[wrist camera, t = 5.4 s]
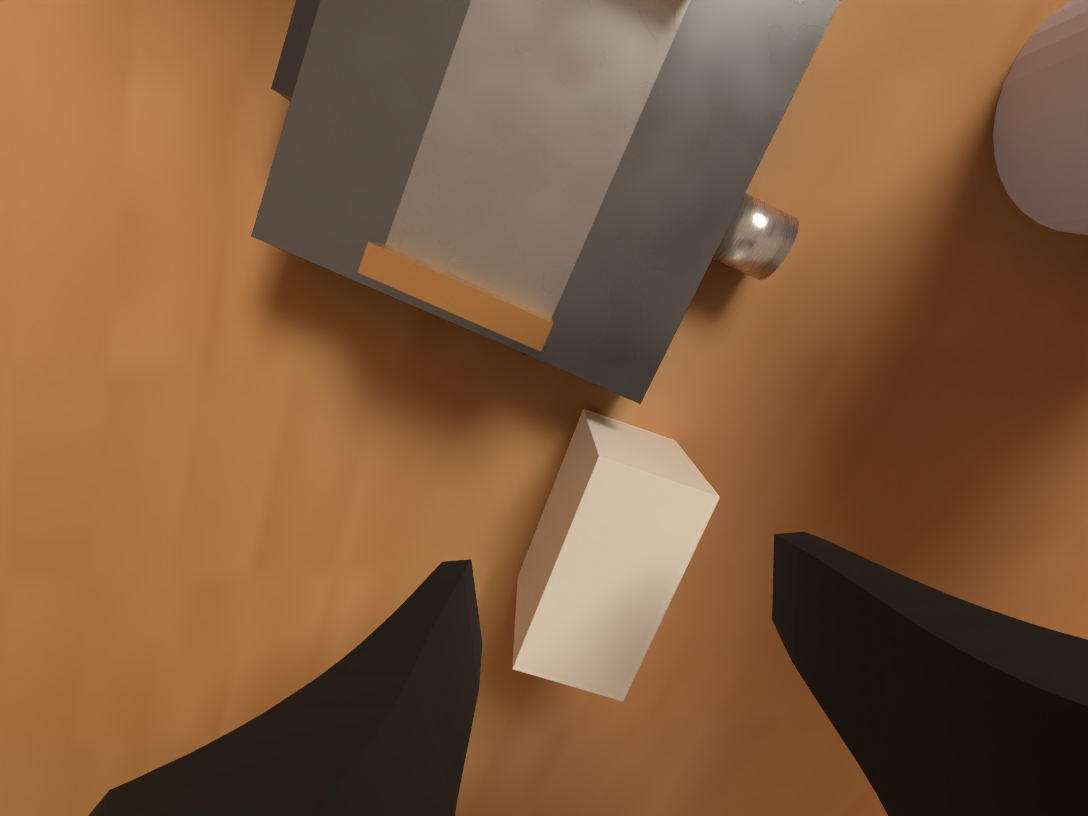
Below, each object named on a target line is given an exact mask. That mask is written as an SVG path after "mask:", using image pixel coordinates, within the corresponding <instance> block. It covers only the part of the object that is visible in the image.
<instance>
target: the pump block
mask: <svg viewBox="0 0 1088 816" xmlns="http://www.w3.org/2000/svg"><path fill="white" fill-rule="evenodd" d="M719 498H720V496H719V495H718V494H717V493H716V491H715V490H714V489H713V488H712V486H711V485H710V484H709V482H708V481H707V480H706V479H705V477H704V476H703V475H702V474H701V472H700V471H699V470H698V469H697V467H696V466H695V465H694V464H693V462H692V461H691V460H690V459H689V457H688V456H687V455H686V453H685V452H684V451H683V450H682V448H681V447H680V446H679V445H678V443H677V442H676V441H675V440H672V439H670V438H667V437H664V436H661V435H658V434H655V433H652V432H649V431H647V430H644V429H641V428H638V427H635V426H632V425H629V424H626V423H623V422H621V421H618V420H615V419H612V418H609V417H606V416H603V415H600V414H598V413H595V412H592V411H589V410H586V409H583V411H582V413H581V416H580V418H579V421H578V423H577V426H576V428H575V431H574V434H573V436H572V439H571V441H570V444H569V446H568V449H567V452H566V454H565V457H564V459H563V462H562V464H561V467H560V470H559V472H558V475H557V477H556V480H555V482H554V485H553V488H552V490H551V493H550V495H549V498H548V500H547V503H546V505H545V508H544V511H543V513H542V516H541V518H540V521H539V523H538V526H537V529H536V531H535V534H534V536H533V539H532V541H531V544H530V547H529V549H528V552H527V554H526V557H525V559H524V562H523V564H522V567H521V570H520V572H519V575H518V579H517V597H516V615H515V632H514V650H513V668H512V669H513V670H517V671H520V672H524V673H527V674H531V675H534V676H537V677H541V678H544V679H548V680H551V681H555V682H558V683H561V684H565V685H568V686H572V687H575V688H578V689H582V690H585V691H589V692H592V693H596V694H599V695H602V696H606V697H609V698H613V699H616V700H620V701H624V699H625V697H626V695H627V693H628V690H629V688H630V686H631V684H632V682H633V680H634V678H635V676H636V674H637V671H638V669H639V667H640V665H641V663H642V661H643V659H644V657H645V655H646V652H647V650H648V648H649V646H650V644H651V642H652V640H653V638H654V635H655V633H656V631H657V629H658V627H659V625H660V623H661V621H662V619H663V616H664V614H665V612H666V610H667V608H668V606H669V604H670V602H671V600H672V597H673V595H674V593H675V591H676V589H677V587H678V585H679V583H680V581H681V578H682V576H683V574H684V572H685V570H686V568H687V566H688V564H689V562H690V559H691V557H692V555H693V553H694V551H695V549H696V547H697V545H698V542H699V540H700V538H701V536H702V534H703V532H704V530H705V528H706V526H707V523H708V521H709V519H710V517H711V515H712V513H713V511H714V509H715V507H716V504H717V502H718V500H719Z"/></svg>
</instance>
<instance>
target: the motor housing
mask: <svg viewBox="0 0 1088 816" xmlns="http://www.w3.org/2000/svg"><path fill="white" fill-rule="evenodd" d="M839 2H840V0H296V4H295V7H294V11H293V14H292V18H291V21H290V25H289V28H288V32H287V35H286V39H285V42H284V46H283V49H282V53H281V56H280V60H279V63H278V67H277V70H276V74H275V77H274V81H273V84H272V88H271V89H273V90H274V91H276V92H277V93H279V94H280V95H282V96H283V97H285V98H286V99H288V100H289V101H291V102H290V106H289V109H288V113H287V116H286V119H285V123H284V126H283V130H282V133H281V136H280V140H279V143H278V147H277V150H276V153H275V157H274V160H273V164H272V167H271V170H270V174H269V177H268V181H267V184H266V188H265V191H264V194H263V198H262V201H261V205H260V208H259V211H258V215H257V218H256V222H255V225H254V228H253V232H252V235H251V236H252V237H254V238H257V239H259V240H261V241H264V242H266V243H268V244H270V245H273V246H275V247H277V248H280V249H282V250H284V251H287V252H289V253H291V254H294V255H296V256H298V257H301V258H303V259H305V260H308V261H310V262H312V263H315V264H317V265H319V266H322V267H324V268H326V269H329V270H331V271H333V272H335V273H338V274H340V275H342V276H345V277H347V278H349V279H352V280H354V281H356V282H359V283H361V284H363V285H366V286H368V287H370V288H373V289H375V290H377V291H380V292H382V293H384V294H387V295H389V296H391V297H394V298H396V299H398V300H400V301H403V302H405V303H407V304H410V305H412V306H414V307H417V308H419V309H421V310H424V311H426V312H428V313H431V314H433V315H435V316H438V317H440V318H442V319H445V320H447V321H449V322H452V323H454V324H456V325H459V326H461V327H463V328H465V329H468V330H470V331H472V332H475V333H477V334H479V335H482V336H484V337H486V338H489V339H491V340H493V341H496V342H498V343H500V344H503V345H505V346H507V347H510V348H512V349H514V350H517V351H519V352H521V353H523V354H526V355H528V356H530V357H533V358H535V359H537V360H540V361H542V362H544V363H547V364H549V365H551V366H554V367H556V368H558V369H561V370H563V371H565V372H568V373H570V374H572V375H575V376H577V377H579V378H582V379H584V380H586V381H588V382H591V383H593V384H595V385H598V386H600V387H602V388H605V389H607V390H609V391H612V392H614V393H616V394H619V395H621V396H623V397H626V398H628V399H630V400H633V401H635V402H637V403H640V404H641V402H642V400H643V398H644V395H645V393H646V391H647V389H648V387H649V385H650V383H651V381H652V379H653V377H654V375H655V373H656V371H657V369H658V367H659V365H660V363H661V361H662V359H663V357H664V355H665V353H666V351H667V349H668V347H669V345H670V343H671V341H672V339H673V337H674V335H675V333H676V331H677V329H678V327H679V325H680V323H681V321H682V319H683V317H684V315H685V313H686V311H687V309H688V307H689V305H690V303H691V301H692V299H693V297H694V295H695V293H696V291H697V289H698V287H699V285H700V282H701V280H702V278H703V276H704V274H705V272H706V270H707V268H708V266H709V264H710V262H711V260H712V258H713V259H715V260H717V261H720V262H722V263H724V264H726V265H728V266H730V267H732V268H734V269H737V270H739V271H741V272H743V273H745V274H747V275H749V276H751V277H753V278H756V279H758V280H763V279H766V278H767V277H769V276H770V275H771V274H772V273H773V272H774V271H775V270H776V269H777V268H778V267H779V266H780V264H781V263H782V262H783V260H784V259H785V257H786V256H787V254H788V252H789V251H790V249H791V247H792V245H793V243H794V240H795V238H796V235H797V232H798V226H799V222H798V219H797V218H795V217H793V216H791V215H789V214H787V213H785V212H783V211H781V210H779V209H777V208H775V207H773V206H771V205H769V204H767V203H765V202H763V201H761V200H759V199H757V198H755V197H753V196H751V195H749V194H747V193H745V192H746V190H747V188H748V186H749V184H750V182H751V180H752V178H753V176H754V174H755V172H756V169H757V167H758V165H759V163H760V161H761V159H762V157H763V155H764V153H765V151H766V149H767V147H768V145H769V143H770V141H771V139H772V137H773V135H774V133H775V131H776V129H777V127H778V125H779V123H780V121H781V119H782V117H783V115H784V113H785V111H786V109H787V107H788V105H789V103H790V101H791V99H792V97H793V95H794V93H795V91H796V89H797V87H798V85H799V83H800V81H801V79H802V77H803V75H804V73H805V71H806V69H807V67H808V65H809V63H810V61H811V59H812V57H813V54H814V52H815V50H816V48H817V46H818V44H819V42H820V40H821V38H822V36H823V34H824V32H825V30H826V28H827V26H828V24H829V22H830V20H831V18H832V16H833V14H834V12H835V10H836V8H837V6H838V4H839Z"/></svg>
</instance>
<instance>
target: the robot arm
mask: <svg viewBox="0 0 1088 816" xmlns="http://www.w3.org/2000/svg"><path fill="white" fill-rule="evenodd" d="M993 143H994V157H995V161H996V165H997V169H998V173H999V177H1000V179H1001V181H1002V183H1003V185H1004V187H1005V189H1006V191H1007V193H1008V195H1009V197H1010V198H1011V199H1012V200H1013V201H1014V203H1015V204H1016V205H1017V206H1018V207H1019V209H1020V210H1021V211H1022V212H1023V213H1025V214H1026V215H1027V216H1029V217H1030V218H1031V219H1033V220H1034V221H1036V222H1037V223H1039V224H1041V225H1044V226H1046V227H1049V228H1051V229H1053V230H1056V231H1062V232H1068V233H1074V234H1083V235H1088V0H1070V1H1069V2H1068V3H1066V4H1065V5H1064V6H1062V7H1061V8H1060V9H1059V10H1057V11H1056V12H1055V13H1053V14H1052V15H1051V16H1049V18H1048V19H1047V20H1046V21H1045V22H1044V23H1043V24H1042V25H1041V26H1040V27H1039V28H1038V29H1037V30H1036V31H1035V33H1034V34H1033V35H1032V36H1031V37H1030V38H1029V40H1028V41H1027V43H1026V44H1025V46H1024V47H1023V49H1022V50H1021V52H1020V53H1019V54H1018V56H1017V57H1016V59H1015V61H1014V63H1013V65H1012V67H1011V69H1010V71H1009V73H1008V75H1007V77H1006V79H1005V82H1004V84H1003V87H1002V90H1001V94H1000V97H999V100H998V104H997V107H996V113H995V121H994V129H993ZM772 620H773V622H774V624H775V626H776V629H777V631H778V633H779V635H780V637H781V639H782V642H783V644H784V646H785V648H786V650H787V652H788V654H789V656H790V658H791V660H792V662H793V664H794V665H795V667H796V669H797V670H798V672H799V673H800V675H801V676H802V678H803V680H804V681H805V683H806V684H807V686H808V687H809V689H810V690H811V692H812V694H813V695H814V697H815V698H816V700H817V701H818V703H819V704H820V706H821V707H822V709H823V710H824V712H825V714H826V715H827V717H828V718H829V720H830V721H831V723H832V724H833V726H834V727H835V729H836V730H837V732H838V733H839V735H840V736H841V738H842V739H843V741H844V742H845V744H846V746H847V747H848V749H849V750H850V752H851V753H852V755H853V756H854V758H855V759H856V761H857V762H858V764H859V765H860V767H861V769H862V770H863V772H864V774H865V775H866V777H867V779H868V780H869V782H870V784H871V785H872V787H873V789H874V790H875V792H876V794H877V796H878V797H879V799H880V801H881V803H882V805H883V807H884V809H885V811H886V813H887V814H888V816H1088V640H1086V639H1083V638H1079V637H1075V636H1072V635H1068V634H1064V633H1061V632H1057V631H1054V630H1050V629H1047V628H1044V627H1040V626H1037V625H1034V624H1030V623H1027V622H1024V621H1021V620H1018V619H1015V618H1012V617H1009V616H1006V615H1003V614H1000V613H998V612H995V611H992V610H989V609H986V608H983V607H980V606H977V605H974V604H972V603H969V602H966V601H964V600H961V599H958V598H956V597H953V596H951V595H949V594H946V593H944V592H941V591H939V590H936V589H934V588H931V587H929V586H926V585H924V584H921V583H919V582H917V581H914V580H912V579H910V578H908V577H905V576H903V575H901V574H898V573H896V572H894V571H892V570H889V569H887V568H885V567H883V566H881V565H878V564H876V563H874V562H872V561H870V560H868V559H865V558H863V557H861V556H859V555H857V554H855V553H853V552H850V551H848V550H846V549H844V548H842V547H840V546H837V545H835V544H833V543H831V542H828V541H826V540H824V539H821V538H819V537H817V536H814V535H811V534H808V533H805V532H796V533H784V534H774V567H773V609H772ZM481 653H482V638H481V631H480V623H479V615H478V608H477V600H476V593H475V585H474V578H473V570H472V563H471V560H459V561H447V562H442V563H441V564H440V565H439V566H438V567H437V568H436V569H435V570H434V571H433V572H432V573H431V574H430V575H429V577H428V578H427V579H426V580H425V581H424V582H423V583H422V584H421V585H420V586H419V587H418V588H417V589H416V590H415V592H414V593H413V594H412V595H411V596H410V597H409V598H408V599H407V600H406V601H405V602H404V603H403V604H402V605H401V606H400V607H399V608H398V609H397V610H396V611H395V612H394V613H393V614H392V615H391V616H390V617H389V618H388V619H387V620H386V621H385V622H383V623H382V624H381V625H380V626H379V627H378V628H377V629H376V630H375V631H374V632H373V633H372V634H371V635H369V636H368V637H367V638H366V639H365V640H364V641H363V642H362V643H361V644H360V645H358V646H357V647H356V648H355V649H354V650H352V651H351V652H350V653H349V654H348V655H346V656H345V657H344V658H343V659H341V660H340V661H339V662H337V663H336V664H335V665H334V666H332V667H331V668H330V669H328V670H327V671H326V672H324V673H323V674H322V675H320V676H319V677H318V678H316V679H315V680H313V681H312V682H311V683H309V684H307V685H306V686H304V687H303V688H301V689H300V690H298V691H297V692H295V693H294V694H292V695H291V696H289V697H288V698H286V699H285V700H283V701H282V702H280V703H278V704H277V705H275V706H274V707H272V708H271V709H269V710H268V711H266V712H264V713H263V714H261V715H260V716H258V717H256V718H254V719H253V720H251V721H249V722H247V723H246V724H244V725H242V726H240V727H239V728H237V729H235V730H233V731H232V732H230V733H228V734H226V735H224V736H222V737H220V738H218V739H217V740H215V741H213V742H211V743H209V744H207V745H205V746H203V747H201V748H199V749H197V750H196V751H194V752H192V753H190V754H188V755H186V756H183V757H181V758H179V759H177V760H175V761H173V762H170V763H168V764H166V765H164V766H162V767H160V768H158V769H155V770H153V771H151V772H149V773H147V774H145V775H142V776H140V777H138V778H136V779H134V780H132V781H130V782H127V783H125V784H123V785H120V786H118V787H116V788H113V789H111V790H109V792H108V793H107V794H106V795H105V796H104V798H103V799H102V800H101V801H100V802H99V803H98V805H97V806H96V807H95V808H94V810H93V811H92V812H91V813H90V815H89V816H455V810H456V804H457V798H458V793H459V788H460V783H461V778H462V773H463V767H464V762H465V757H466V752H467V747H468V742H469V737H470V732H471V727H472V722H473V717H474V712H475V706H476V701H477V696H478V691H479V681H480V668H481Z"/></svg>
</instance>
